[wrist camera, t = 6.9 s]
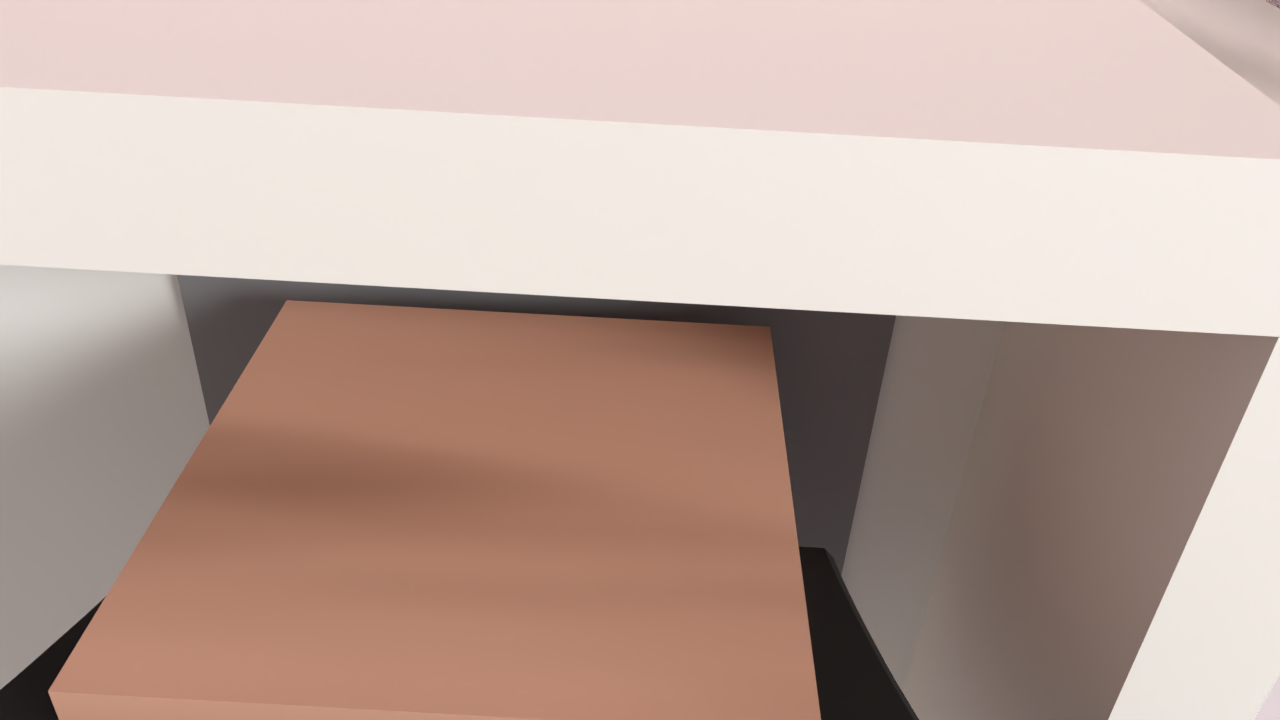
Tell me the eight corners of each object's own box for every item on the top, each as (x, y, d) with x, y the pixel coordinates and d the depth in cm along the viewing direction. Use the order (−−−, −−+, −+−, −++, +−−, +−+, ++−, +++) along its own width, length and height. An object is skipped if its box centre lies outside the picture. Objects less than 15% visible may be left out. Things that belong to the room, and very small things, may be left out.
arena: (945, 720, 18) (1040, 1099, 13) (-36, 665, 17) (-288, 1026, 13) (1188, -46, 11) (1561, 175, 6) (-392, -136, 11) (-1172, 20, 6)
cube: (727, 657, 14) (746, 1089, 10) (340, 634, 14) (192, 1059, 10) (769, 327, 11) (822, 734, 7) (286, 300, 11) (47, 691, 7)
